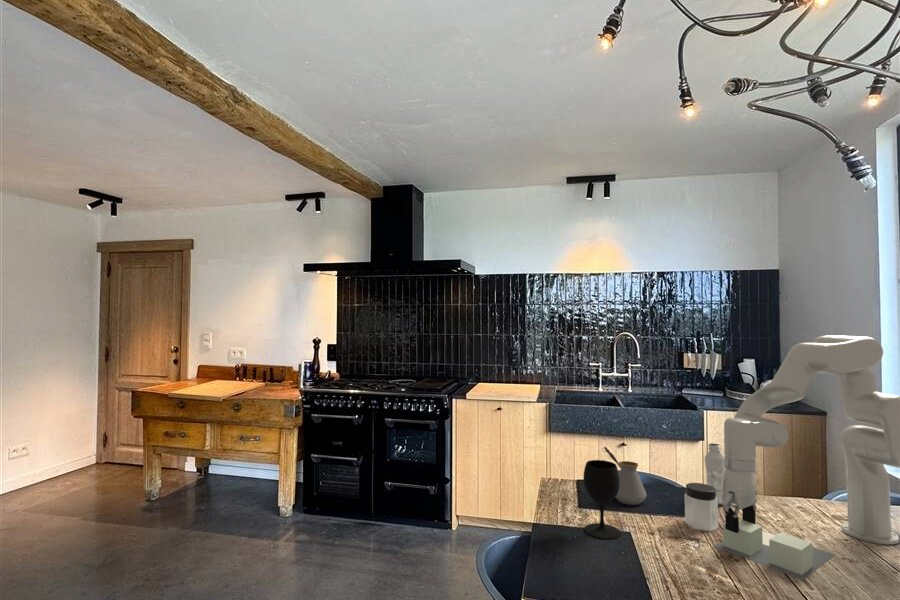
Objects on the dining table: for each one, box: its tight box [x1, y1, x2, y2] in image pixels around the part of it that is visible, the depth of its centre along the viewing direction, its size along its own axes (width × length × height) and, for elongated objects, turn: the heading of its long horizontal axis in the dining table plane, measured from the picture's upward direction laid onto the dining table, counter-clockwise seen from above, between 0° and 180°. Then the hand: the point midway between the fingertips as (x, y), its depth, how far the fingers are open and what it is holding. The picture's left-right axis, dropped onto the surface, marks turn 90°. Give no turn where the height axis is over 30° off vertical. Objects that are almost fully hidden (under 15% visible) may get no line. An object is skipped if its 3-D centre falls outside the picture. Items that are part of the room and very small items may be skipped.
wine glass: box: [583, 459, 621, 540], centre depth 141 cm, size 10×10×20 cm
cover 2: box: [769, 532, 813, 575], centre depth 120 cm, size 7×7×6 cm
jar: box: [684, 482, 719, 532], centre depth 144 cm, size 9×8×12 cm
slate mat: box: [713, 530, 837, 581], centre depth 128 cm, size 22×21×1 cm
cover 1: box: [722, 518, 763, 556], centre depth 130 cm, size 7×7×6 cm
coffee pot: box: [601, 446, 648, 506], centre depth 170 cm, size 21×12×15 cm, turn 13°
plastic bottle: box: [704, 443, 726, 506], centre depth 163 cm, size 6×7×20 cm
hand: (740, 526), depth 130 cm, fingers open, 9 cm apart
